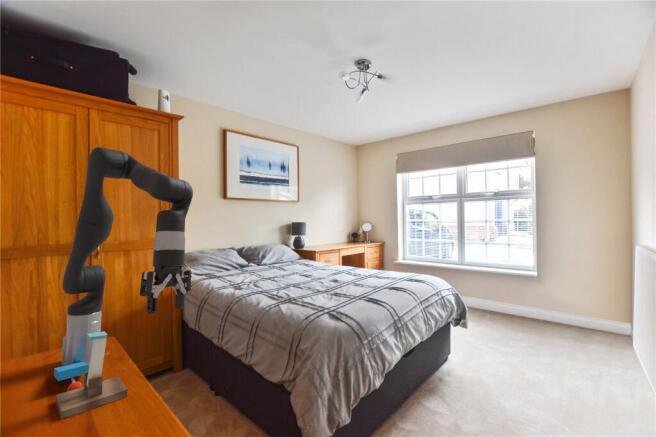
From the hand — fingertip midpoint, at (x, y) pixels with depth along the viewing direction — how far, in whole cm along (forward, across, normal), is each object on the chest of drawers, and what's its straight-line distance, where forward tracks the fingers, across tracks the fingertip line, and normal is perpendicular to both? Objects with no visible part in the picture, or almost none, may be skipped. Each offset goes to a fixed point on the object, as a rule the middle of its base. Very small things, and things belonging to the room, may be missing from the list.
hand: (166, 310), depth 78 cm
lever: (+23, -4, -39) cm, 46 cm away
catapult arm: (+20, 0, -24) cm, 32 cm away
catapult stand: (+24, 0, -25) cm, 35 cm away
